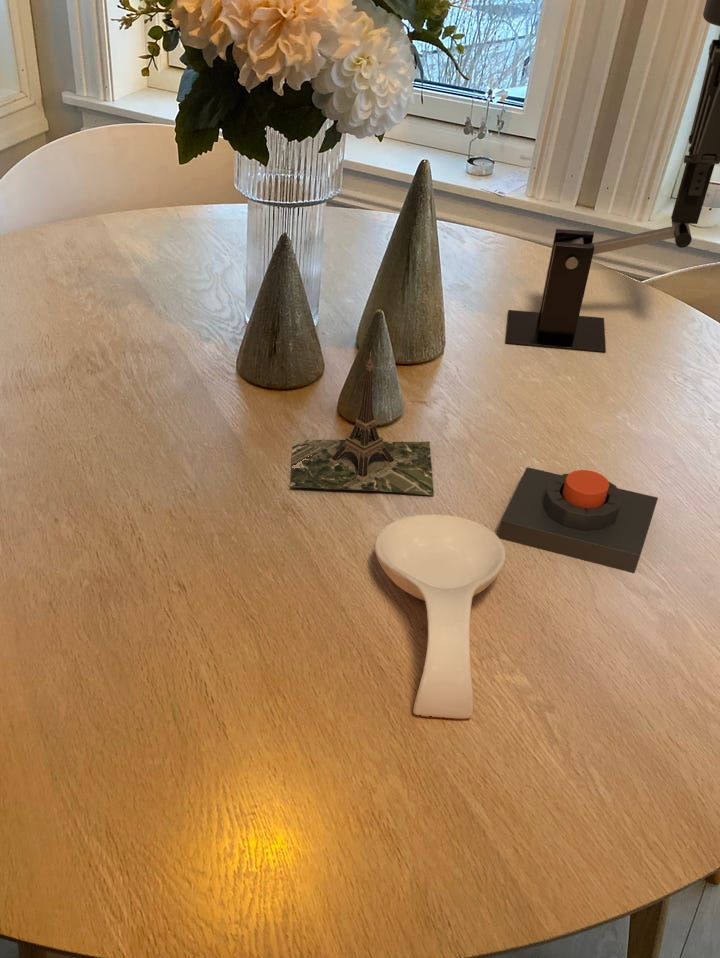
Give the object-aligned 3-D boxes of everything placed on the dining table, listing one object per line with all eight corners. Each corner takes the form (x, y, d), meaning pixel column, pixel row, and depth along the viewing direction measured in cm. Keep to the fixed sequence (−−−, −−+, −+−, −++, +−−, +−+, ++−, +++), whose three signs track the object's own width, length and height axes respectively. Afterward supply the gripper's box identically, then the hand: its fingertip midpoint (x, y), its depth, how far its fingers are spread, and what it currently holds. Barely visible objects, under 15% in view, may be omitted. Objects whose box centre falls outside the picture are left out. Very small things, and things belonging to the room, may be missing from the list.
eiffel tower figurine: (287, 493, 103) (289, 376, 94) (292, 439, 110) (294, 327, 101) (433, 498, 102) (449, 381, 92) (429, 444, 109) (443, 330, 100)
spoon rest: (371, 538, 97) (377, 476, 92) (493, 543, 96) (505, 481, 91) (372, 718, 80) (378, 655, 75) (520, 726, 79) (537, 663, 74)
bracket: (601, 327, 128) (626, 227, 119) (603, 360, 122) (629, 257, 113) (506, 319, 130) (524, 220, 121) (503, 351, 124) (521, 249, 115)
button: (608, 490, 96) (613, 475, 95) (600, 513, 93) (604, 497, 92) (567, 480, 97) (571, 465, 96) (557, 502, 95) (561, 487, 93)
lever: (687, 228, 116) (686, 208, 115) (692, 249, 112) (691, 228, 111) (560, 255, 122) (558, 236, 120) (560, 275, 117) (558, 256, 116)
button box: (652, 515, 99) (663, 481, 96) (634, 574, 92) (645, 540, 90) (523, 484, 103) (529, 451, 100) (497, 538, 97) (503, 505, 94)
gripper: (707, -39, 102) (646, 197, 118) (720, -12, 93) (653, 240, 109) (785, -37, 101) (713, 201, 117) (807, -9, 91) (725, 246, 108)
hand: (684, 220), depth 113 cm, fingers closed
